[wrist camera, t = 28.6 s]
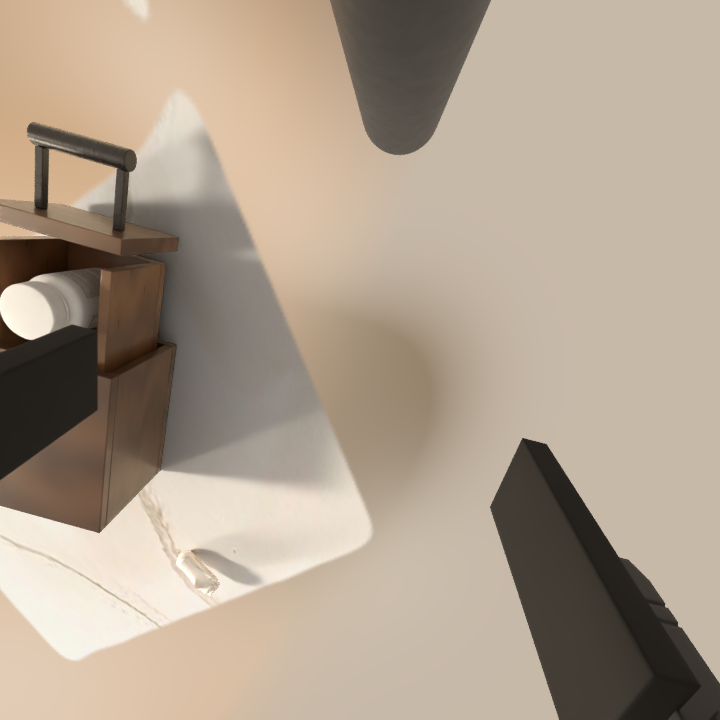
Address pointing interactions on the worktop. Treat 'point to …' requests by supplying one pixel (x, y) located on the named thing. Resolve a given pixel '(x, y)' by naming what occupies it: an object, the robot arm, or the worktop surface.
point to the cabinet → (100, 449)
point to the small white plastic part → (197, 572)
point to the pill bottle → (52, 302)
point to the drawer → (89, 249)
